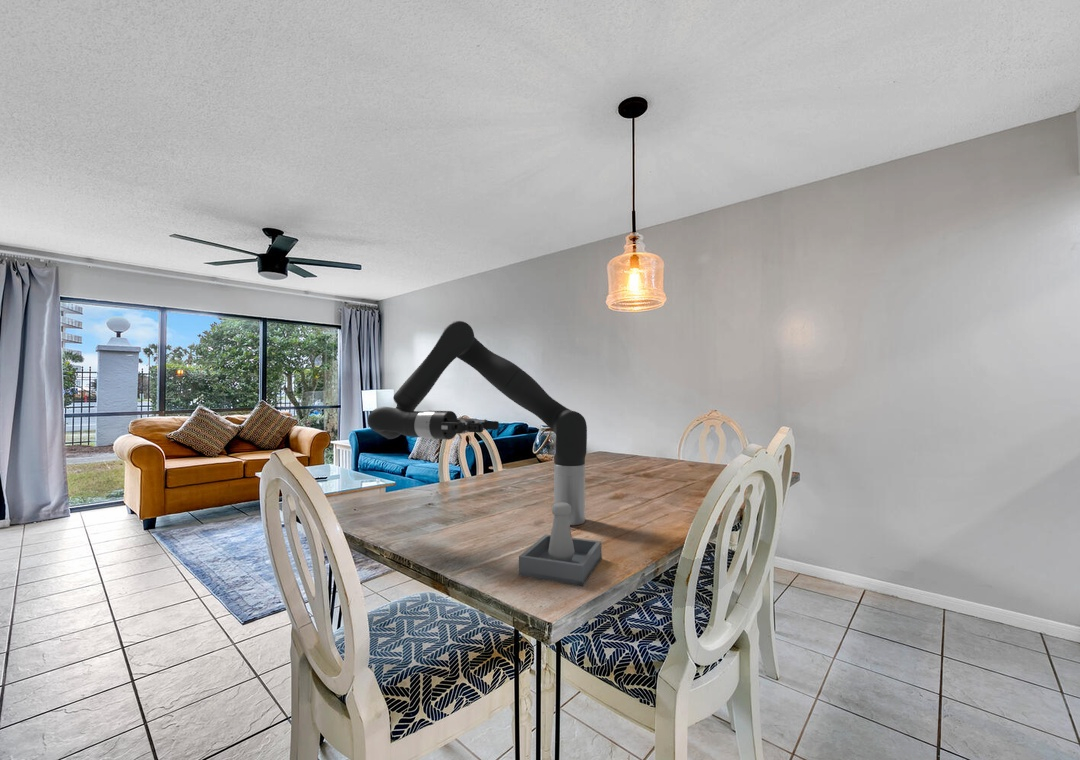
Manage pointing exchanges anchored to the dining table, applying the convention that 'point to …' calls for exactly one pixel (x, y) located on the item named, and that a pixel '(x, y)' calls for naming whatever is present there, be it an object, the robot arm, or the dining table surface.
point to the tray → (560, 562)
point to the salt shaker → (561, 534)
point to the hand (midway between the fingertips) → (490, 426)
